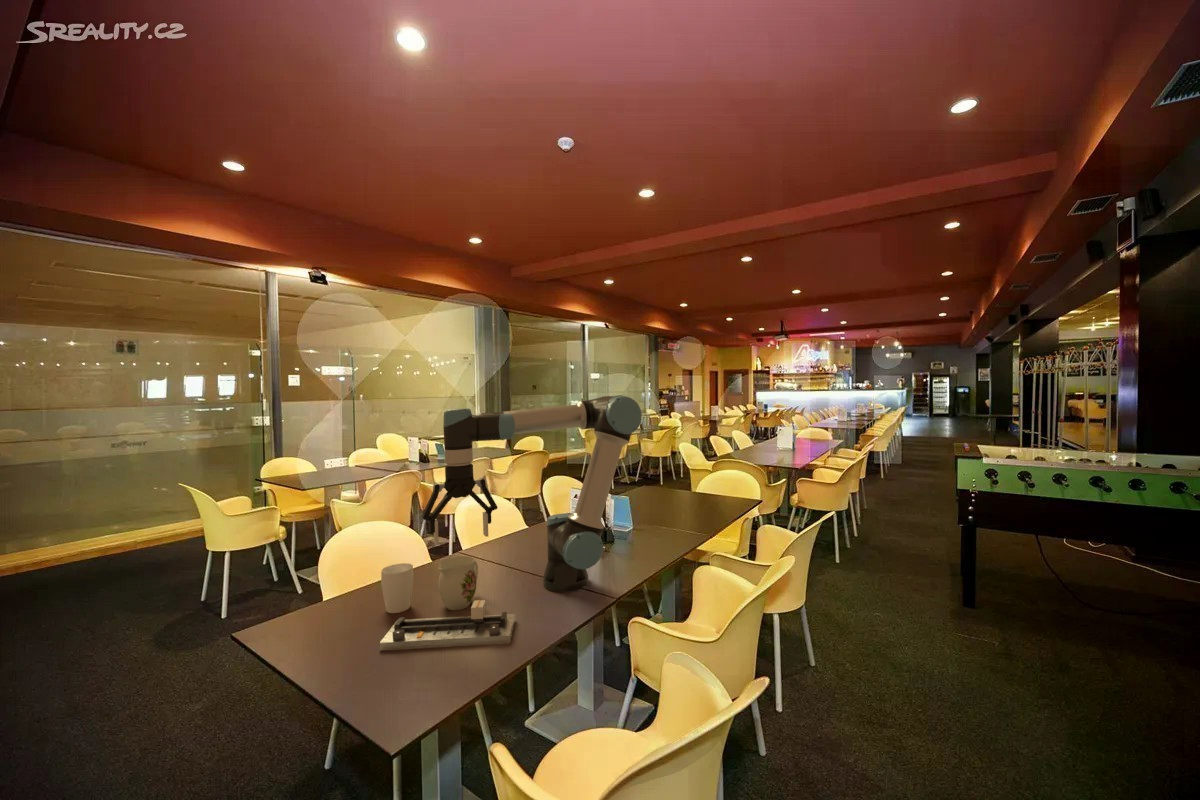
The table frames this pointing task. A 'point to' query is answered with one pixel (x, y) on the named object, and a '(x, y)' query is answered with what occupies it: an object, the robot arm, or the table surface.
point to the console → (448, 632)
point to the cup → (397, 587)
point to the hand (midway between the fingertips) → (461, 539)
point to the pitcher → (457, 581)
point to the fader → (478, 611)
